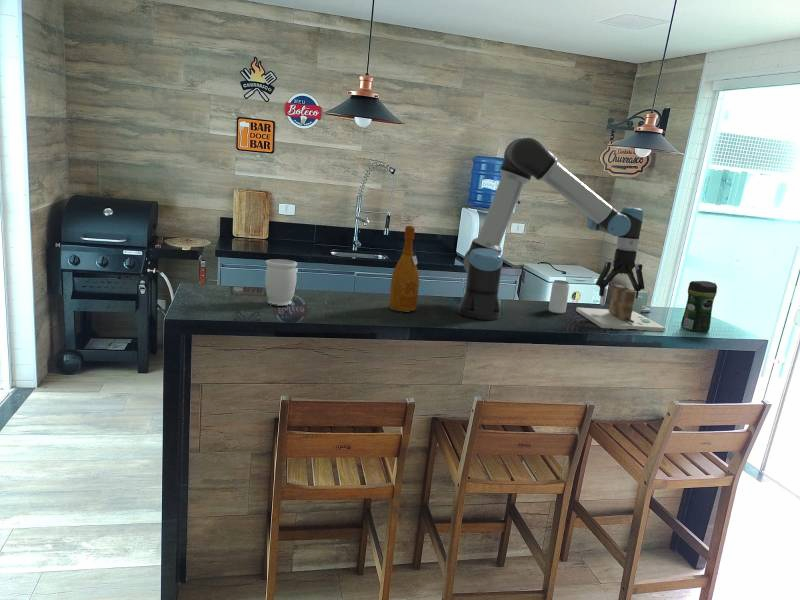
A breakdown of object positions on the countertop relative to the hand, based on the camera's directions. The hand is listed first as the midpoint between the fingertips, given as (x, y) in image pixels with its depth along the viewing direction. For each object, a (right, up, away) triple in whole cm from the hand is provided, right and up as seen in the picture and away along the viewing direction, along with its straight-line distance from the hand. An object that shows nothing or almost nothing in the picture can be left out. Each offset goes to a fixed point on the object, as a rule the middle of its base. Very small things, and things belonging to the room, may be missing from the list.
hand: (616, 305), depth 227 cm
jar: (-125, 0, -23) cm, 127 cm away
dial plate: (0, -6, -2) cm, 6 cm away
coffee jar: (+27, -9, -5) cm, 29 cm away
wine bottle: (-82, -2, -15) cm, 84 cm away
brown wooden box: (0, -5, -5) cm, 7 cm away
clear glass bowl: (+18, -3, +20) cm, 27 cm away
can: (-22, -3, +4) cm, 22 cm away
